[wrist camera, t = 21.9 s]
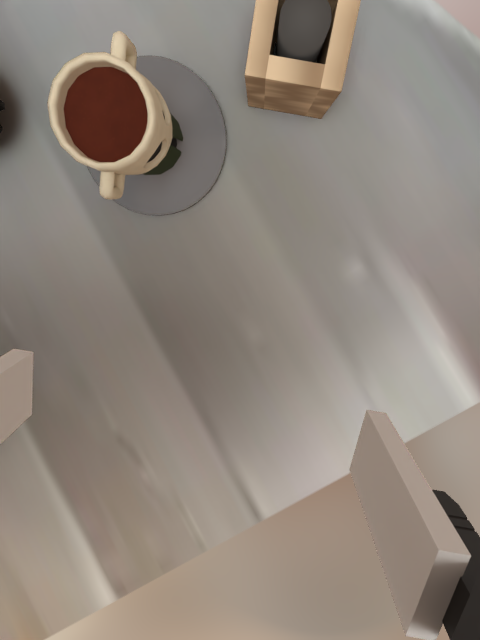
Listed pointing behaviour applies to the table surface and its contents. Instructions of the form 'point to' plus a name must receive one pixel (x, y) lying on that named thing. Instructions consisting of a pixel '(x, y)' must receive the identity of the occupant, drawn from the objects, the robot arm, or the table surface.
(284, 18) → the dark grey tall cylinder
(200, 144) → the coaster
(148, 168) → the character mug
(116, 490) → the table surface
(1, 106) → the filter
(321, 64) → the block
